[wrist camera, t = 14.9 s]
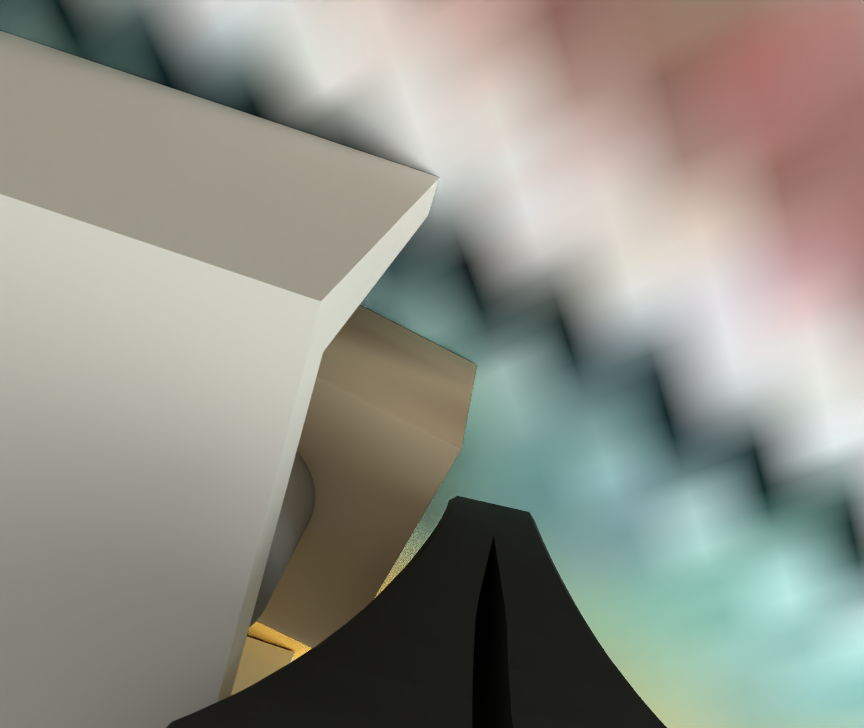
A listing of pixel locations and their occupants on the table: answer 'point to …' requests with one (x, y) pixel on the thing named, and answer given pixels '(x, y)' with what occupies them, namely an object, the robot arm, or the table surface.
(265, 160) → the open shelf unit
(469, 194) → the table surface
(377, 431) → the beige toy brick
